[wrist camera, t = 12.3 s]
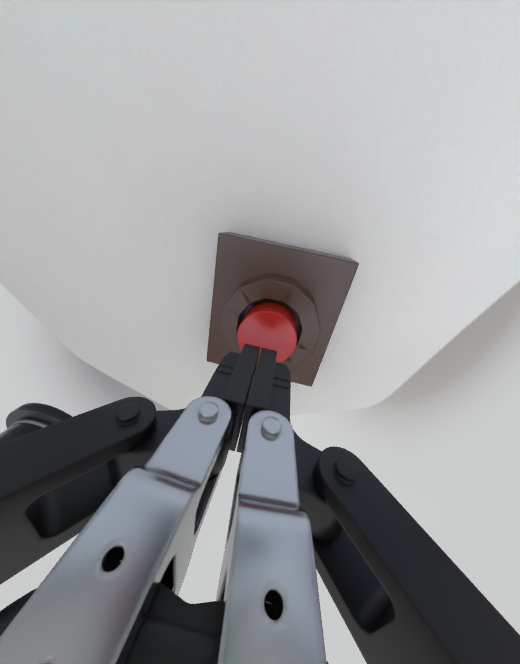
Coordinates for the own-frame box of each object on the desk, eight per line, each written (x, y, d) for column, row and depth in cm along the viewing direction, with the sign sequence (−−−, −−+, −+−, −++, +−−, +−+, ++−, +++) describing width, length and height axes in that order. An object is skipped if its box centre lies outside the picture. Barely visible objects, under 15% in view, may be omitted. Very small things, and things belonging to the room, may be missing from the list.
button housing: (310, 371, 20) (313, 402, 16) (214, 348, 20) (197, 374, 17) (351, 258, 15) (368, 268, 12) (227, 231, 16) (208, 233, 12)
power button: (289, 356, 15) (288, 370, 14) (239, 344, 15) (233, 357, 14) (303, 309, 14) (304, 319, 12) (247, 296, 14) (241, 304, 12)
